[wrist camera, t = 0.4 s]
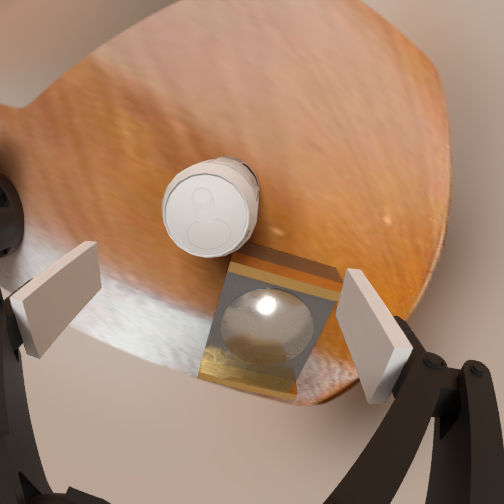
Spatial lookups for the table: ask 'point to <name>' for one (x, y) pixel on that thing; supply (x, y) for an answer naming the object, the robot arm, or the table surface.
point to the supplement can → (212, 206)
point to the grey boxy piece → (268, 320)
